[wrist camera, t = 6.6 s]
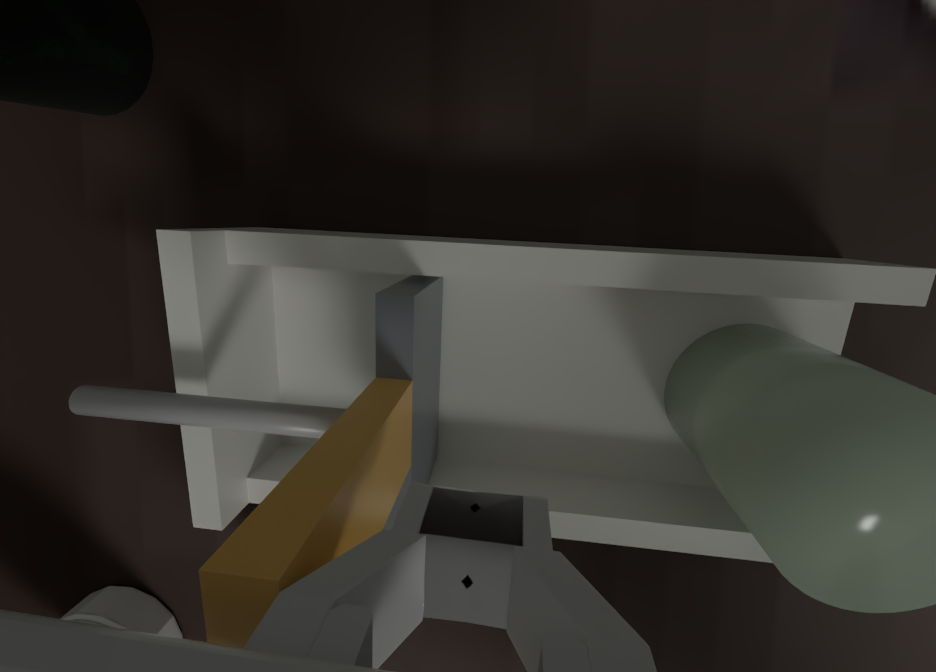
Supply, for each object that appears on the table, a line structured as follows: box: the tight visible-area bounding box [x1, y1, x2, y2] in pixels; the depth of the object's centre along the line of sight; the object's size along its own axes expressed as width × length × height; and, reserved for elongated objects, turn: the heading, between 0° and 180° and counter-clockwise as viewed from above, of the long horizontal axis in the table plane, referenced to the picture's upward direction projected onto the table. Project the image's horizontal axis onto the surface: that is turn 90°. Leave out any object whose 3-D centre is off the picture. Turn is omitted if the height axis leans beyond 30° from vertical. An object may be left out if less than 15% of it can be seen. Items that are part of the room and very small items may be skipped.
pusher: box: [69, 275, 443, 648], centre depth 14 cm, size 11×8×14 cm
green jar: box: [664, 324, 936, 613], centre depth 15 cm, size 6×6×8 cm
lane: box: [156, 227, 936, 563], centre depth 18 cm, size 25×11×6 cm, turn 87°
